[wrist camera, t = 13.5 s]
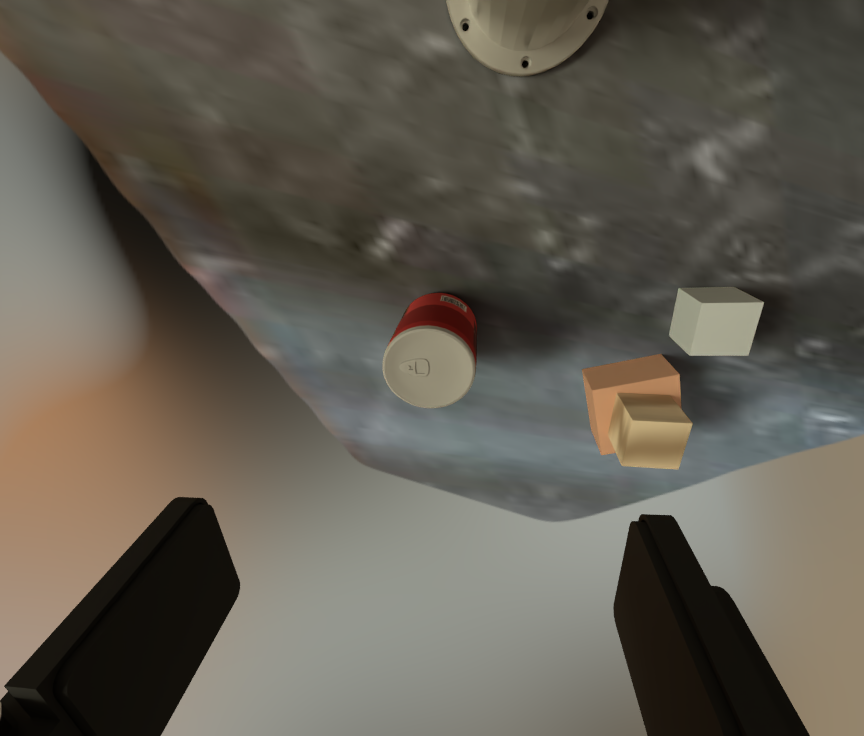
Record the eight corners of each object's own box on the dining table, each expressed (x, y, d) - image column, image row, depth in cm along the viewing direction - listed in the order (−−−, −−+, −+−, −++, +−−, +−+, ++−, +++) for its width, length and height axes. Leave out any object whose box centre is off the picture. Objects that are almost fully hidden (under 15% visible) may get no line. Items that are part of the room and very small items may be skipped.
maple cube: (616, 392, 42) (632, 420, 38) (670, 394, 42) (692, 423, 37) (607, 434, 44) (621, 465, 40) (658, 437, 44) (678, 469, 39)
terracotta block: (581, 368, 47) (592, 390, 42) (660, 352, 45) (679, 374, 41) (590, 428, 50) (601, 455, 45) (664, 416, 48) (683, 442, 44)
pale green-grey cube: (678, 287, 42) (701, 303, 37) (733, 286, 41) (764, 302, 37) (668, 335, 44) (689, 355, 39) (720, 335, 43) (748, 355, 39)
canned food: (393, 300, 45) (369, 340, 35) (467, 281, 44) (462, 317, 34) (415, 364, 48) (397, 417, 39) (484, 348, 47) (485, 399, 37)
